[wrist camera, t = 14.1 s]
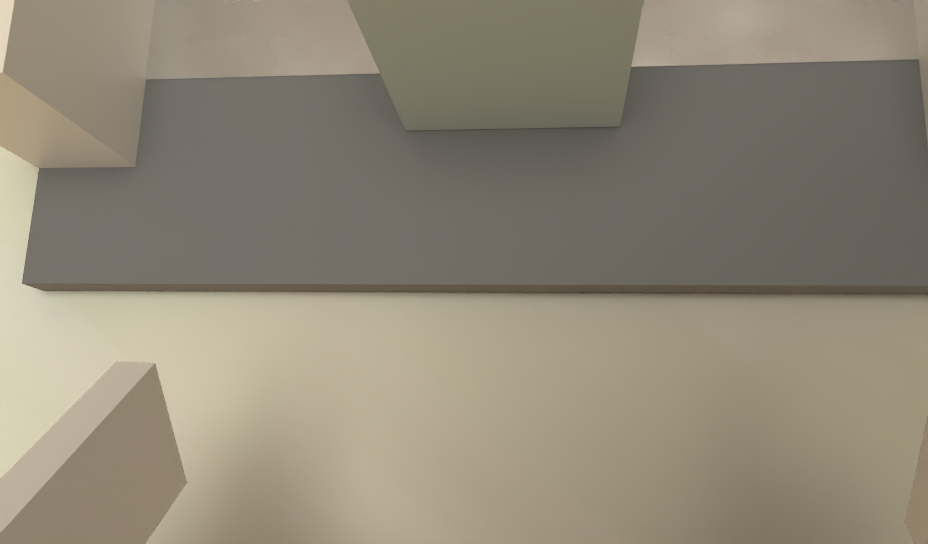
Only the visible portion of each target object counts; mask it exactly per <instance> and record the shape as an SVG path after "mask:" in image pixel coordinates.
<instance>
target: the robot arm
mask: <svg viewBox="0 0 928 544" xmlns="http://www.w3.org/2000/svg"><path fill="white" fill-rule="evenodd" d="M186 483H187V482H186V478H185V474H184V470H183V466H182V463H181V459H180V455H179V451H178V448H177V444H176V440H175V436H174V433H173V429H172V425H171V421H170V418H169V414H168V410H167V406H166V402H165V399H164V395H163V391H162V387H161V384H160V380H159V376H158V372H157V369H156V365H155V363H139V362H116V363H115V364H114V365H113V366H112V367H111V368H110V369H109V370H108V371H107V372H106V373H105V374H104V375H103V376H102V377H101V378H100V379H99V380H98V381H97V382H96V383H95V384H94V385H93V386H92V387H91V388H90V389H89V390H88V391H87V392H86V393H85V394H84V395H83V396H82V397H81V398H80V399H79V400H78V401H77V402H76V403H75V404H74V405H73V406H72V407H71V408H70V409H69V410H68V411H67V412H66V413H65V414H64V415H63V416H62V417H61V418H60V419H59V420H58V422H57V423H56V424H55V425H54V426H53V427H52V428H51V429H50V430H49V431H48V432H47V433H46V434H45V435H44V436H43V437H42V438H41V439H40V440H39V441H38V442H37V443H36V444H35V445H34V446H33V447H32V448H31V449H30V450H29V451H28V452H27V453H26V454H25V455H24V456H23V457H22V458H21V459H20V460H19V461H18V462H17V463H16V464H15V465H14V466H13V467H12V468H11V469H10V470H9V471H8V472H7V473H6V474H5V475H4V476H3V477H2V478H1V479H0V544H145V543H146V542H147V540H148V539H149V537H150V536H151V534H152V533H153V531H154V530H155V528H156V527H157V525H158V524H159V523H160V521H161V520H162V518H163V517H164V515H165V514H166V512H167V511H168V509H169V508H170V506H171V505H172V504H173V502H174V501H175V499H176V498H177V496H178V495H179V493H180V492H181V490H182V489H183V487H184V486H185V484H186ZM905 524H906V526H907V528H908V530H909V533H910V535H911V537H912V539H913V542H914V544H928V416H927V421H926V426H925V430H924V435H923V440H922V444H921V449H920V454H919V458H918V463H917V468H916V472H915V477H914V482H913V487H912V491H911V496H910V501H909V505H908V510H907V515H906V519H905Z"/></svg>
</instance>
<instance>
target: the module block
mask: <svg viewBox="0 0 928 544" xmlns="http://www.w3.org/2000/svg"><path fill="white" fill-rule="evenodd" d="M347 1H348V3H349V5H350V8H351V10H352V12H353V14H354V17H355V19H356V21H357V23H358V25H359V28H360V30H361V32H362V34H363V37H364V39H365V41H366V43H367V46H368V48H369V50H370V52H371V54H372V57H373V59H374V61H375V63H376V66H377V68H378V70H379V72H380V75H381V77H382V79H383V81H384V83H385V86H386V88H387V90H388V92H389V95H390V97H391V99H392V101H393V104H394V106H395V108H396V110H397V112H398V115H399V117H400V119H401V121H402V124H403V126H404V128H405V130H406V131H413V130H468V129H522V128H577V127H620V124H621V119H622V113H623V108H624V103H625V97H626V92H627V87H628V82H629V76H630V71H631V66H632V60H633V55H634V50H635V44H636V39H637V34H638V28H639V23H640V18H641V12H642V7H643V2H644V0H347Z"/></svg>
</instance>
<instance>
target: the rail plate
mask: <svg viewBox="0 0 928 544" xmlns="http://www.w3.org/2000/svg"><path fill="white" fill-rule="evenodd" d="M0 146H2V147H3V148H5V149H7V150H9V151H10V152H12V153H14V154H16V155H17V156H19V157H21V158H22V159H24V160H26V161H28V162H29V163H31V164H33V165H35V166H36V167H38V168H39V173H38V180H37V187H36V193H35V200H34V207H33V213H32V220H31V227H30V233H29V240H28V247H27V253H26V260H25V267H24V273H23V280H22V284H25V285H28V286H31V287H34V288H37V289H40V290H43V291H297V292H571V293H846V294H928V0H644V2H643V7H642V12H641V18H640V23H639V28H638V34H637V39H636V44H635V50H634V55H633V60H632V66H631V71H630V76H629V82H628V87H627V92H626V97H625V103H624V108H623V113H622V119H621V124H620V127H577V128H522V129H468V130H413V131H406V130H405V128H404V126H403V124H402V121H401V119H400V117H399V115H398V112H397V110H396V108H395V106H394V104H393V101H392V99H391V97H390V95H389V92H388V90H387V88H386V86H385V83H384V81H383V79H382V77H381V75H380V72H379V70H378V68H377V66H376V63H375V61H374V59H373V57H372V54H371V52H370V50H369V48H368V46H367V43H366V41H365V39H364V37H363V34H362V32H361V30H360V28H359V25H358V23H357V21H356V19H355V17H354V14H353V12H352V10H351V8H350V5H349V3H348V1H347V0H0Z"/></svg>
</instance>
